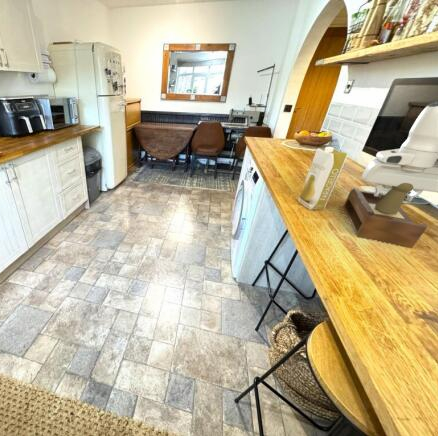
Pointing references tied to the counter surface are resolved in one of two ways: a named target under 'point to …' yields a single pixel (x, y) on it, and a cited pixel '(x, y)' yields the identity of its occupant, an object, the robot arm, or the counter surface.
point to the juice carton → (322, 178)
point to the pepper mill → (394, 198)
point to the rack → (380, 220)
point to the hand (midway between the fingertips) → (391, 198)
